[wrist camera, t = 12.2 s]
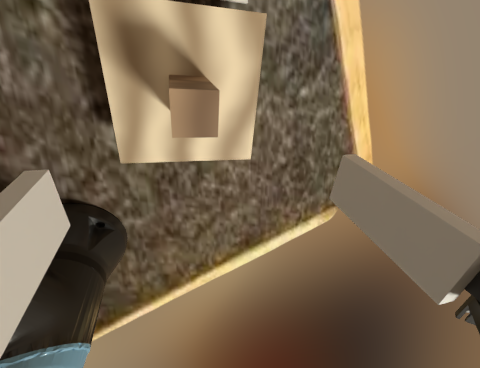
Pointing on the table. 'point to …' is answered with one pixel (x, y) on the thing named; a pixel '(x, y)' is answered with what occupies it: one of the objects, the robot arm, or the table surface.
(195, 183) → the table surface
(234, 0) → the mat
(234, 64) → the board
